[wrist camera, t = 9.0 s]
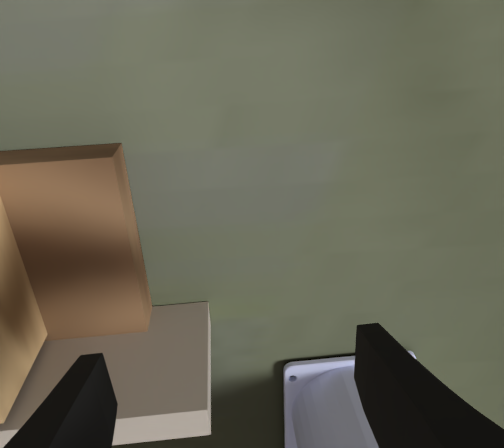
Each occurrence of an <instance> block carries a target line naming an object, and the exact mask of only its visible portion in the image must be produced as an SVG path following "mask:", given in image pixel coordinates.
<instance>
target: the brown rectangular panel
mask: <svg viewBox="0 0 504 448" xmlns="http://www.w3.org/2000/svg"><path fill="white" fill-rule="evenodd" d="M0 197H1V200H2V203H3V206H4V208H5V211H6V214H7V217H8V220H9V223H10V226H11V229H12V232H13V235H14V238H15V241H16V243H17V246H18V249H19V252H20V255H21V258H22V261H23V264H24V267H25V270H26V273H27V275H28V278H29V281H30V284H31V287H32V290H33V293H34V296H35V299H36V302H37V305H38V307H39V310H40V313H41V316H42V319H43V322H44V325H45V328H46V331H47V337H46V339H45V341H52V340H63V339H74V338H84V337H95V336H106V335H117V334H127V333H138V332H147V331H148V326H149V321H150V316H151V310H152V303H151V297H150V292H149V287H148V281H147V276H146V271H145V265H144V260H143V255H142V250H141V244H140V239H139V234H138V228H137V223H136V218H135V212H134V207H133V202H132V197H131V191H130V186H129V181H128V175H127V170H126V165H125V159H124V154H123V149H122V144H121V143H115V144H100V145H86V146H71V147H56V148H42V149H27V150H12V151H0Z"/></svg>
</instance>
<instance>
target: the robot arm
mask: <svg viewBox="0 0 504 448" xmlns="http://www.w3.org/2000/svg"><path fill="white" fill-rule="evenodd" d="M283 376H284V438H285V448H504V429H502V428H501V427H500V426H498V425H497V424H495V423H494V422H493V421H491V420H490V419H488V418H487V417H485V416H484V415H483V414H481V413H480V412H478V411H477V410H476V409H474V408H473V407H472V406H470V405H469V404H468V403H467V402H465V401H464V400H463V399H462V398H460V397H459V396H458V395H457V394H455V393H454V392H453V391H452V390H450V389H449V388H448V387H447V386H446V385H444V384H443V383H442V382H441V381H440V380H439V379H437V378H436V377H435V376H434V375H433V374H432V373H431V372H430V371H428V370H427V369H426V368H425V367H424V366H423V365H422V364H421V363H420V362H418V361H417V360H416V357H415V355H414V353H413V352H412V351H407V350H406V349H405V348H404V347H403V346H401V345H400V344H399V343H398V342H397V341H396V340H395V339H394V338H393V337H392V336H391V335H390V334H389V333H388V332H387V331H386V330H385V329H384V328H383V327H382V326H381V325H380V324H379V323H373V324H363V325H357V332H356V349H355V356H347V357H337V358H327V359H316V360H306V361H296V362H289V363H287V364H286V365H285V366H284V369H283ZM290 376H293V377H290ZM117 407H118V403H117V400H116V396H115V393H114V390H113V386H112V383H111V379H110V376H109V373H108V369H107V366H106V362H105V359H104V356H103V353H95V354H85V355H80V356H79V357H78V359H77V360H76V361H75V362H74V363H73V365H72V366H71V367H70V368H69V370H68V371H67V372H66V373H65V375H64V376H63V377H62V379H61V380H60V381H59V382H58V384H57V385H56V386H55V387H54V389H53V390H52V391H51V392H50V394H49V395H48V396H47V397H46V399H45V400H44V401H43V402H42V403H41V405H40V406H39V407H38V408H37V409H36V411H35V412H34V413H33V414H32V415H31V417H30V418H29V419H28V420H27V421H26V422H25V424H24V425H23V426H22V427H21V428H20V429H19V430H18V432H17V433H16V434H15V435H14V436H13V437H12V438H11V439H10V440H9V442H8V443H7V444H6V445H5V446H4V447H3V448H111V446H112V442H113V436H114V430H115V423H116V415H117Z"/></svg>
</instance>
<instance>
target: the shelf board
mask: <svg viewBox="0 0 504 448" xmlns="http://www.w3.org/2000/svg"><path fill="white" fill-rule="evenodd" d="M95 353H103V356H104V359H105V362H106V366H107V369H108V373H109V376H110V379H111V383H112V386H113V390H114V393H115V396H116V400H117V403H118V407H117V415H116V423H115V430H114V436H113V442H112V445H121V444H130V443H140V442H149V441H158V440H168V439H177V438H186V437H196V436H205V435H211V322H210V313H209V304H208V302H197V303H186V304H175V305H163V306H152V310H151V316H150V321H149V326H148V331H147V332H138V333H127V334H117V335H106V336H95V337H84V338H74V339H63V340H52V341H44V343H43V345H42V347H41V349H40V351H39V353H38V355H37V357H36V359H35V361H34V363H33V365H32V367H31V369H30V371H29V373H28V375H27V377H26V379H25V381H24V383H23V385H22V387H21V389H20V391H19V393H18V395H17V397H16V399H15V401H14V403H13V405H12V407H11V409H10V411H9V413H8V416H7V418H6V420H5V422H4V423H1V424H0V448H3V447H4V446H5V445H6V444H7V443H8V442H9V440H10V439H11V438H12V437H13V436H14V435H15V434H16V433H17V432H18V430H19V429H20V428H21V427H22V426H23V425H24V424H25V422H26V421H27V420H28V419H29V418H30V417H31V415H32V414H33V413H34V412H35V411H36V409H37V408H38V407H39V406H40V405H41V403H42V402H43V401H44V400H45V399H46V397H47V396H48V395H49V394H50V392H51V391H52V390H53V389H54V387H55V386H56V385H57V384H58V382H59V381H60V380H61V379H62V377H63V376H64V375H65V373H66V372H67V371H68V370H69V368H70V367H71V366H72V365H73V363H74V362H75V361H76V360H77V359H78V357H79V356H80V355H85V354H95Z"/></svg>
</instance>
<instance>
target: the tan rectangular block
mask: <svg viewBox="0 0 504 448" xmlns="http://www.w3.org/2000/svg"><path fill="white" fill-rule="evenodd" d="M46 337H47V331H46V328H45V325H44V322H43V319H42V316H41V313H40V310H39V307H38V305H37V302H36V299H35V296H34V293H33V290H32V287H31V284H30V281H29V278H28V275H27V273H26V270H25V267H24V264H23V261H22V258H21V255H20V252H19V249H18V246H17V243H16V241H15V238H14V235H13V232H12V229H11V226H10V223H9V220H8V217H7V214H6V211H5V208H4V206H3V203H2V200H1V197H0V424H1V423H4V422H5V420H6V418H7V416H8V413H9V411H10V409H11V407H12V405H13V403H14V401H15V399H16V397H17V395H18V393H19V391H20V389H21V387H22V385H23V383H24V381H25V379H26V377H27V375H28V373H29V371H30V369H31V367H32V365H33V363H34V361H35V359H36V357H37V355H38V353H39V351H40V349H41V347H42V345H43V343H44V341H45V339H46Z"/></svg>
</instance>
